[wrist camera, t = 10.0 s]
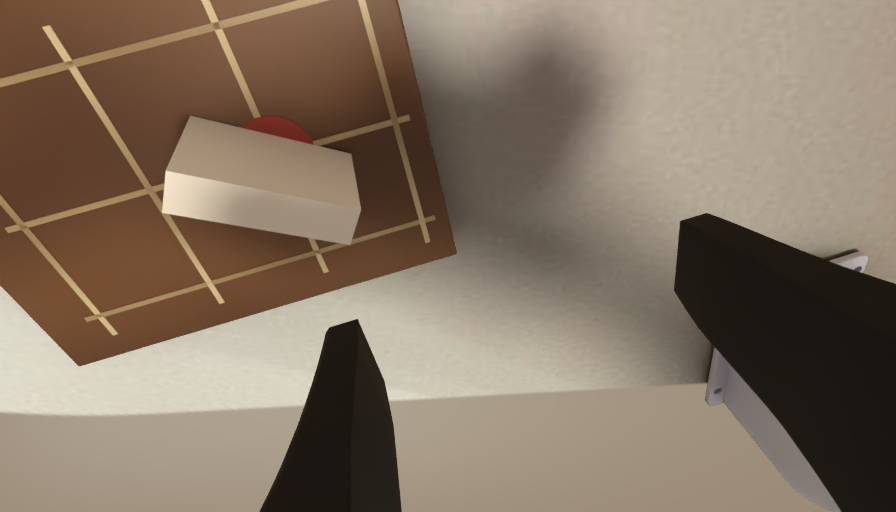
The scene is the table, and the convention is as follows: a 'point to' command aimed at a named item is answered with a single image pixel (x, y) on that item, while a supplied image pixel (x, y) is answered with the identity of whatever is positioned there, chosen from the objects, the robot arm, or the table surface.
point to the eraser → (261, 182)
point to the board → (155, 139)
